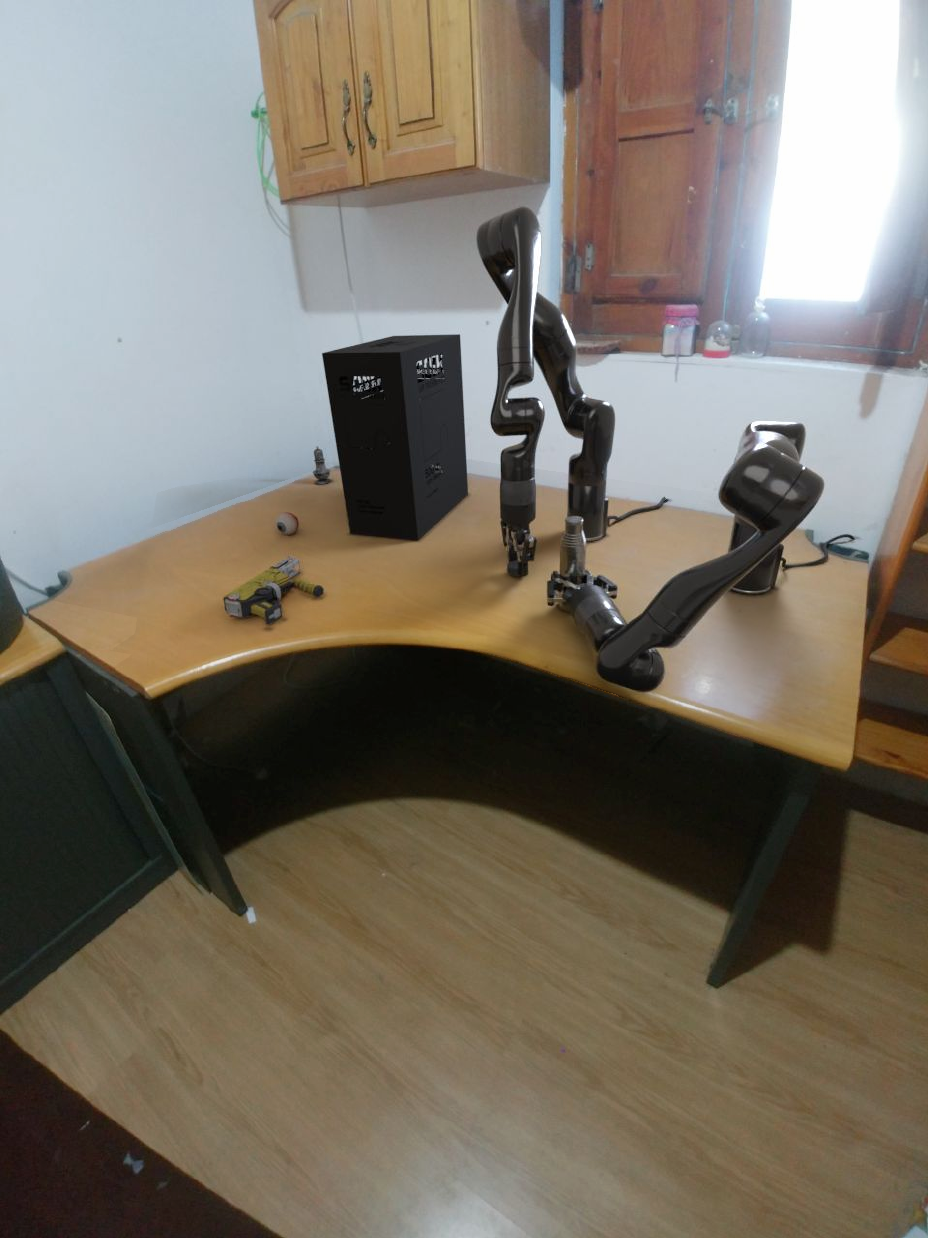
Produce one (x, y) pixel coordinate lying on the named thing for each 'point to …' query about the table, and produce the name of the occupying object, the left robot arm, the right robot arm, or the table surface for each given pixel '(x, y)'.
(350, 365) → the cardboard box
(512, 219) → the left robot arm
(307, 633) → the table surface
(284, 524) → the eyeball
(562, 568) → the bottle
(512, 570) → the cap
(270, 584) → the toy gun
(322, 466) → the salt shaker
